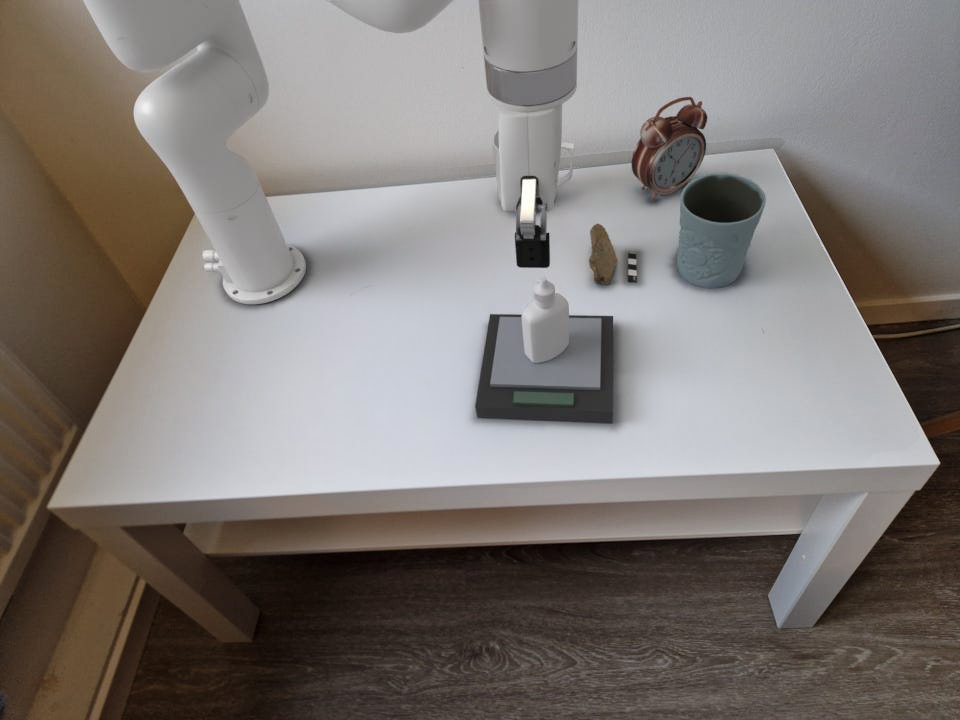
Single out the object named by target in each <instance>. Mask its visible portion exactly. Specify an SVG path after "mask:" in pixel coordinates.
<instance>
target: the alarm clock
mask: <svg viewBox="0 0 960 720" xmlns="http://www.w3.org/2000/svg"><path fill="white" fill-rule="evenodd" d="M684 101H685V102H686V101H690V103H691V104H685V105H684V106H682V107H681V108H680V110H678V112H677V113H676V114H675V115H671V116H667V117H663V116H661V113H663V111H664V110H666V109H667V108H669V107H671V106H673V105H675V104H677V103H680V102H684ZM702 106H703V101H701V100H700V101H698V102H697V104H696V102H695V100H694V98H693V97H691V96H685V97H678V98H676V99H673V100H671V101H669V102H668V103H665V104H664V105H663V106H662V107H660V108H659V109H658V111H657V112H656V114H655V116H652V117H649V118H648V119H647V120H646V121H644V123H643V124H642V126H641V128H640V131H639V133H640V134H639V135H640V136H639V137H640V138H639V140H638V142H637V143H636V145H635V148H634V150H633V152H632V156H631V171H632V173H633V175H634V177H635V178H636V179H637V180H638V181H639V182H640V183H641V184H642V185H643V186H642V187H641V190H642V191H644V190H645V189H646V188H647V189H649V190H650V191H652V192H653V194H652V196H651V197H652V198H650V202H654V201H655V199H656V197H657V196H658V195H659V194H660V195H667V194H671V193H673V192H675V191H677V190H679V189H681V188H682V187H683V186H684V187H685V186H686V185H687V184H688V183H689V182H690V181H691V180H692V178H693V177H694V176H695V174H696V173H697V171H698V170H699V169H700V167H701V165H702V163H703V162H704V158H705V155H706V150H707V140H706V138H705V134H703V132H702V131H701V130H704V129H705V128H706V125H707V122H708V114H707V112H706V110H705V109H704V108H702Z"/></svg>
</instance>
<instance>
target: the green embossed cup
mask: <svg viewBox="0 0 960 720" xmlns="http://www.w3.org/2000/svg"><path fill="white" fill-rule="evenodd" d="M687 183H688V184H687V185H686V186H685V185H684V188H682V191H681V193H680V200H679V201H680V204H679V226H680V229H679V233H678V234H679V235H678V245H677V251H676V269H677V271H678V274H679V275H680V276H681V278H683V280H685V281H686V282H687V283H689V284H691V285H694V286H696V287H700V288H704V289H718V288H724V287H726V286H729V285H730V284H732V283H734V282H735V281H736V280H737V279H738V278H739V276H740V274H741V272H742V269H743V267H744V264H745V261H746V258H747V254H748V251H749V248H750V246H751V242H752V240H753V237H754V234H755V231H756V229H757V227H758V225H759V223H760V220H761V217H762V215H763V213H764V210H765V207H766V202H767V199H766V193H765V191H764V190H763V188H762V187H760V185H759V184H757V183H756V182H755V181H753V180H752V179H751V178H748V177H745V176H743V175H739V174H736V173H728V172H714V173H707V174H704V175H700V176H698V177H696V178H693V179H691V180H690V181H688V182H687Z"/></svg>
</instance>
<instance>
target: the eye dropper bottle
mask: <svg viewBox="0 0 960 720" xmlns="http://www.w3.org/2000/svg"><path fill="white" fill-rule="evenodd" d="M532 294H533V300H531V301H530V302H529V303H528V304H527V305H526V306H525V308H524V309H523V311H522V312H521V315H522V329H523V341H524V351H525V354H526V356H527V357H528V358H529V359H530V360H531V361H532V362H533V363H541V362H545V361H548V360H551V359H553V358H555V357H557V356H558V355H559V354H561V353H562V352H563V351H564V350H565V349H566V348H567V346H568V345H569V315H570V304H569V301H568V300H567V299H566V297H565V296H564V295H562V294H561V293H558V292H556V287H555V284H554V283H553V282H551V281H549V280H548V278H547V276H541V277H540V278H539V281H538V282H536V283H535V284H534V285H533V286H532Z"/></svg>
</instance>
